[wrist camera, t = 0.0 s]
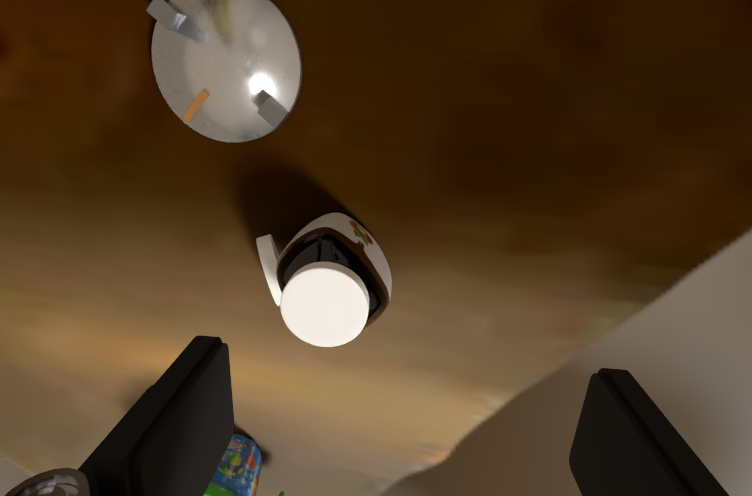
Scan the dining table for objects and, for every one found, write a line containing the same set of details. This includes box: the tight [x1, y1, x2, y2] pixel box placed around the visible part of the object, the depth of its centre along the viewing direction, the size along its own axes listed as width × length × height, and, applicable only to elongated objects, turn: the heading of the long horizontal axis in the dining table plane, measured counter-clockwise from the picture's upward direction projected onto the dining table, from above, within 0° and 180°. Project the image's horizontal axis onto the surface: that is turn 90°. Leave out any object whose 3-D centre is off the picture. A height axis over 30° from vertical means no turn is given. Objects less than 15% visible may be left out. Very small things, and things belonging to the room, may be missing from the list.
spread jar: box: [256, 213, 392, 347], centre depth 38 cm, size 12×11×12 cm
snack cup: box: [204, 434, 284, 496], centre depth 49 cm, size 16×11×10 cm
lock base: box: [146, 0, 303, 142], centre depth 37 cm, size 13×13×3 cm
